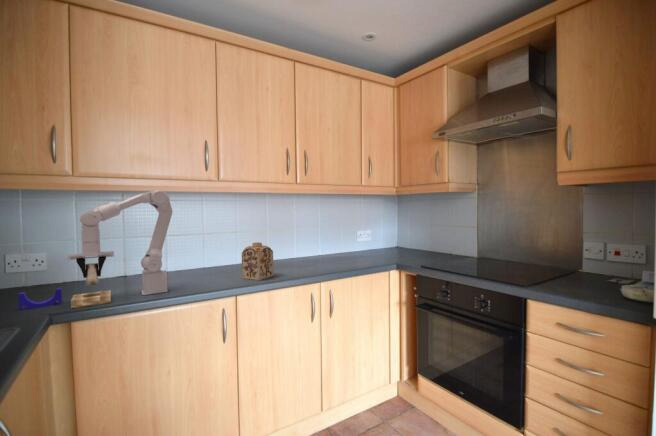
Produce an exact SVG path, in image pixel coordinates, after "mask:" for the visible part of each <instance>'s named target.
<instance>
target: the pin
mask: <svg viewBox="0 0 656 436" xmlns="http://www.w3.org/2000/svg"><path fill="white" fill-rule="evenodd" d="M85 269H86V278H85V283H86V284H85V286H95V285H100V278H99V277H100V276H98V270H99V266H98V262H91V263H85Z"/></svg>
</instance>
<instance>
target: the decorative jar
mask: <svg viewBox="0 0 656 436" xmlns="http://www.w3.org/2000/svg"><path fill="white" fill-rule="evenodd" d="M274 268H275V267H274V251H273V249H271V247H270V246H268V245H263V243H262V242H259V241H258V242H255V241H254V242H252V245H249V246H246V247H245V248H244V249H243V250H242V252H241V277H242V279H244V280H249V279H250V281H252V280H253V281H263V280H265V279H268V278H273V277H274V275H275V274H274V271H275V270H274Z"/></svg>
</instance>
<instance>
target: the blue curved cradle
mask: <svg viewBox="0 0 656 436" xmlns="http://www.w3.org/2000/svg"><path fill="white" fill-rule="evenodd" d="M62 288H63V287H56V289H55V293H54V295H52V296H51V297H50V298H48V299H45V300H42V301H34V300H32V299H30V298H29V297H28V296H27V294H26V292H25V291H23V292H19V293H18V310H19V311H24V310H31V309H38V308H46V307H51V306H50V305H52V306H57V304H59V305H62V304H63V289H62ZM25 306H26V307H25ZM45 306H46V307H45Z"/></svg>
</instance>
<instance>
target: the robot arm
mask: <svg viewBox="0 0 656 436" xmlns="http://www.w3.org/2000/svg"><path fill="white" fill-rule="evenodd" d="M138 204H139V205H140V204H149V205H151V206H152V207H153V208H154V209H155V210H156V211H157V213H158V217H157V220H156V223H155V226H154V230H153V233H152V236H151V239H150V243H149V248H148V249H147V250H146V252H145V255H144V256H143V257H142V259H141V261H140V265H141V267H142V268H143V269H142V271H141V274H142V277H141V278H142V290H141V294H142V296H146V295H153V294H160V293H168V273H167V270H162V269H161V268H162V266H163V262H162V257H163V252H162V251H163V247H164V244H165V241H166V240H165V239H166V238H167V233H168V229H169V227H170V222H171V219H172V215H173V208H172V204H171V201H170V196H169V195H168V194H167V193H166V192H165V191H164V190H162V189H156V190H151V191H148V192H141V193H138V194H136V195H134V196H132V197H129V198H127V199H124V200H122V201H120V202H114V201H111V202H109V201H107V202H104V204H103V205H100V206H97V207H92V208H91V210H88V211H87V210H86V211H84V212H83V213H82V214H81V215H80V218H79V222H80V223H81V232H80V233H81V234H80V235H81V253H71V254H67V261H71V260H73V261H74V260H75V261H76V263H77V265H78V266H79V269H80V271H81V273H82V276H83V279H86V260H87V259H94V258H95V259H96V258H97V263H98V276H99V277H102V275H101V274H102V270H103V267H104V263H105V261H106V260H107V258H108V257H109V258H110V257H111V258H114V256H115V252H114V251H113V250H112V251H111V250H110V251H101V235H100V233H101V232H100V229H99V227H100V226H99V225H100V224H99V223H100V222H106V221H107V220H111V219H112V218H115V217H117V216H120V214H121V211H122V210H126V209H128V208H130V207H133V206H136V205H138Z"/></svg>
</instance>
